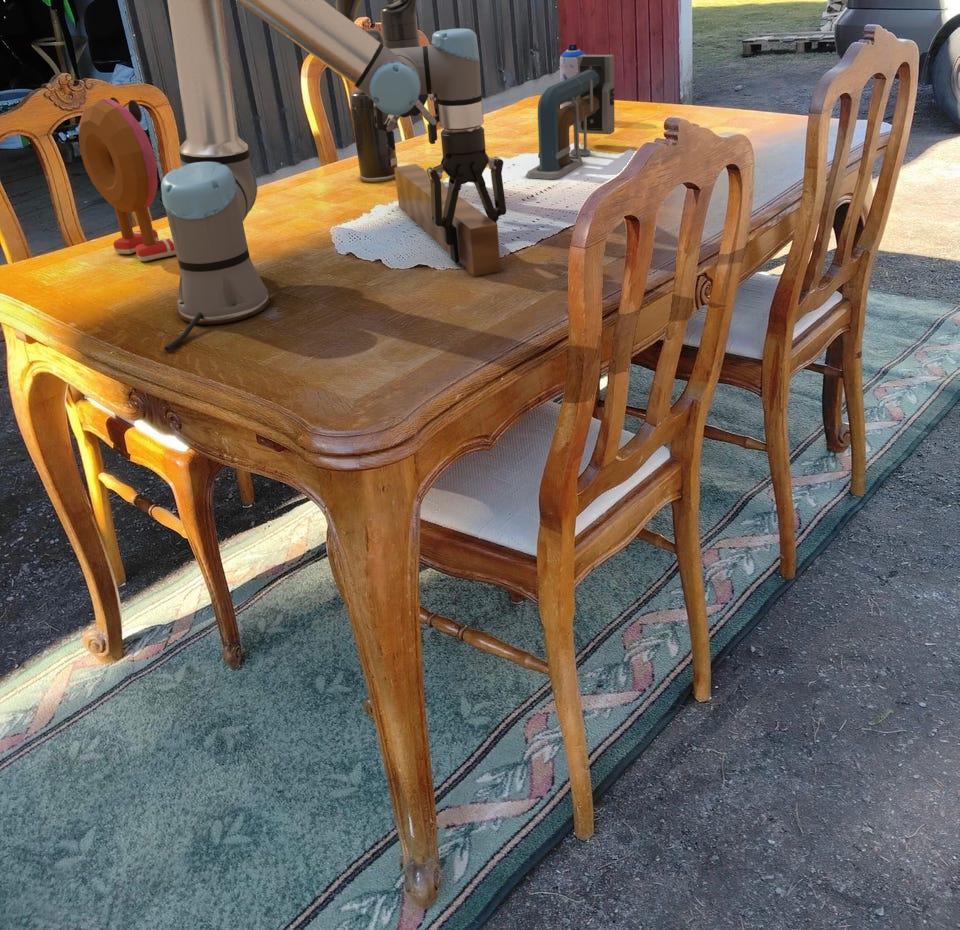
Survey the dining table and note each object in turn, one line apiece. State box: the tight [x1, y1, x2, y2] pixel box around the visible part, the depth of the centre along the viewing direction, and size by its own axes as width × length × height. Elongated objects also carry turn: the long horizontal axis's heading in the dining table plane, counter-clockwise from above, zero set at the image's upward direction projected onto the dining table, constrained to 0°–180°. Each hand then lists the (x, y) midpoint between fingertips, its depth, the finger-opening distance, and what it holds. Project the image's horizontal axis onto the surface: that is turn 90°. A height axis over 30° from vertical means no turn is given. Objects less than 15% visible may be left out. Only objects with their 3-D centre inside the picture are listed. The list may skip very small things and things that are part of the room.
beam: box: [394, 163, 501, 277], centre depth 191 cm, size 51×5×9 cm, turn 19°
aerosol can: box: [559, 43, 586, 109], centre depth 273 cm, size 8×8×20 cm
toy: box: [78, 96, 177, 262], centre depth 190 cm, size 21×10×30 cm, turn 47°
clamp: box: [525, 54, 615, 180], centre depth 232 cm, size 35×9×21 cm, turn 151°
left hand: (472, 257), depth 178 cm, fingers open, 6 cm apart
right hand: (412, 146), depth 200 cm, fingers open, 8 cm apart
